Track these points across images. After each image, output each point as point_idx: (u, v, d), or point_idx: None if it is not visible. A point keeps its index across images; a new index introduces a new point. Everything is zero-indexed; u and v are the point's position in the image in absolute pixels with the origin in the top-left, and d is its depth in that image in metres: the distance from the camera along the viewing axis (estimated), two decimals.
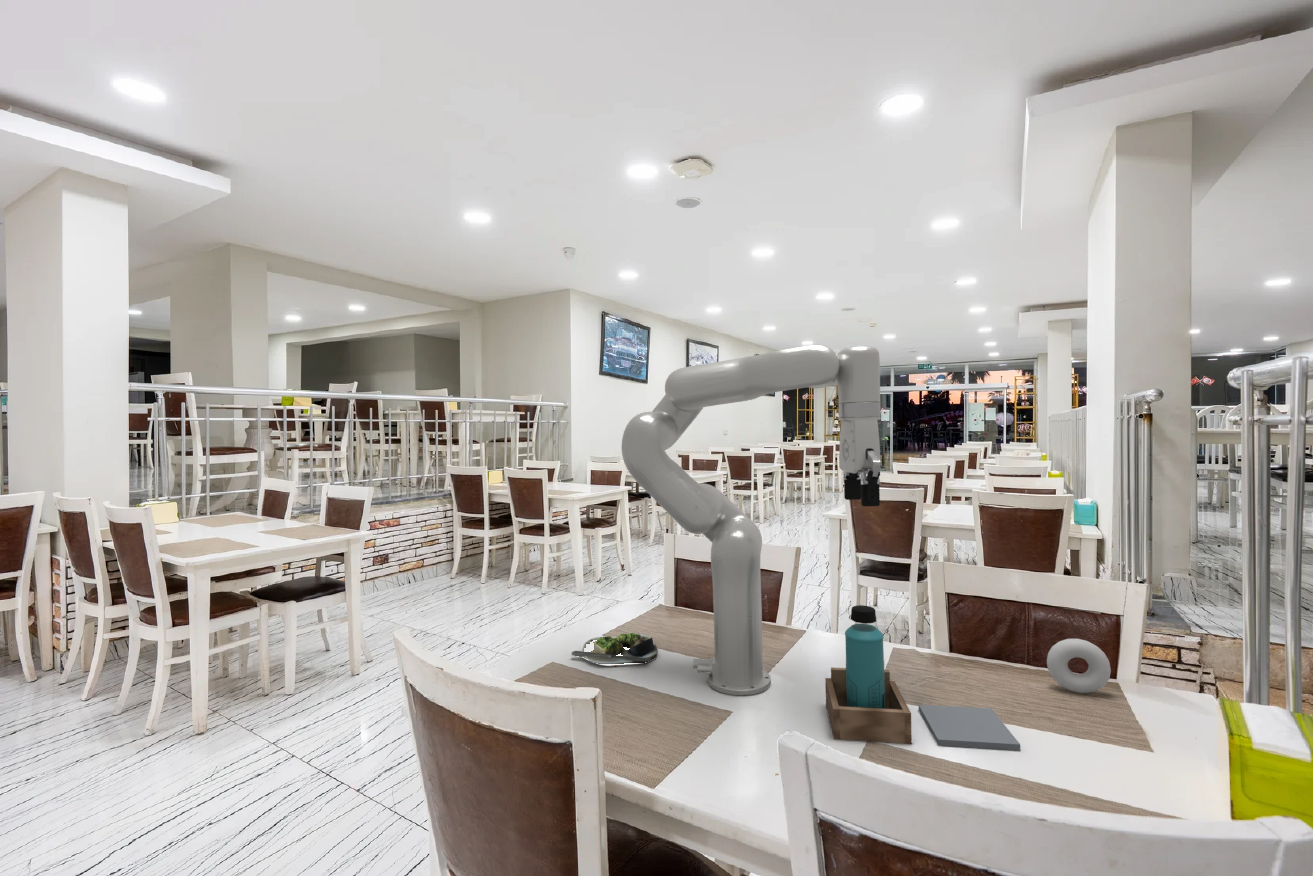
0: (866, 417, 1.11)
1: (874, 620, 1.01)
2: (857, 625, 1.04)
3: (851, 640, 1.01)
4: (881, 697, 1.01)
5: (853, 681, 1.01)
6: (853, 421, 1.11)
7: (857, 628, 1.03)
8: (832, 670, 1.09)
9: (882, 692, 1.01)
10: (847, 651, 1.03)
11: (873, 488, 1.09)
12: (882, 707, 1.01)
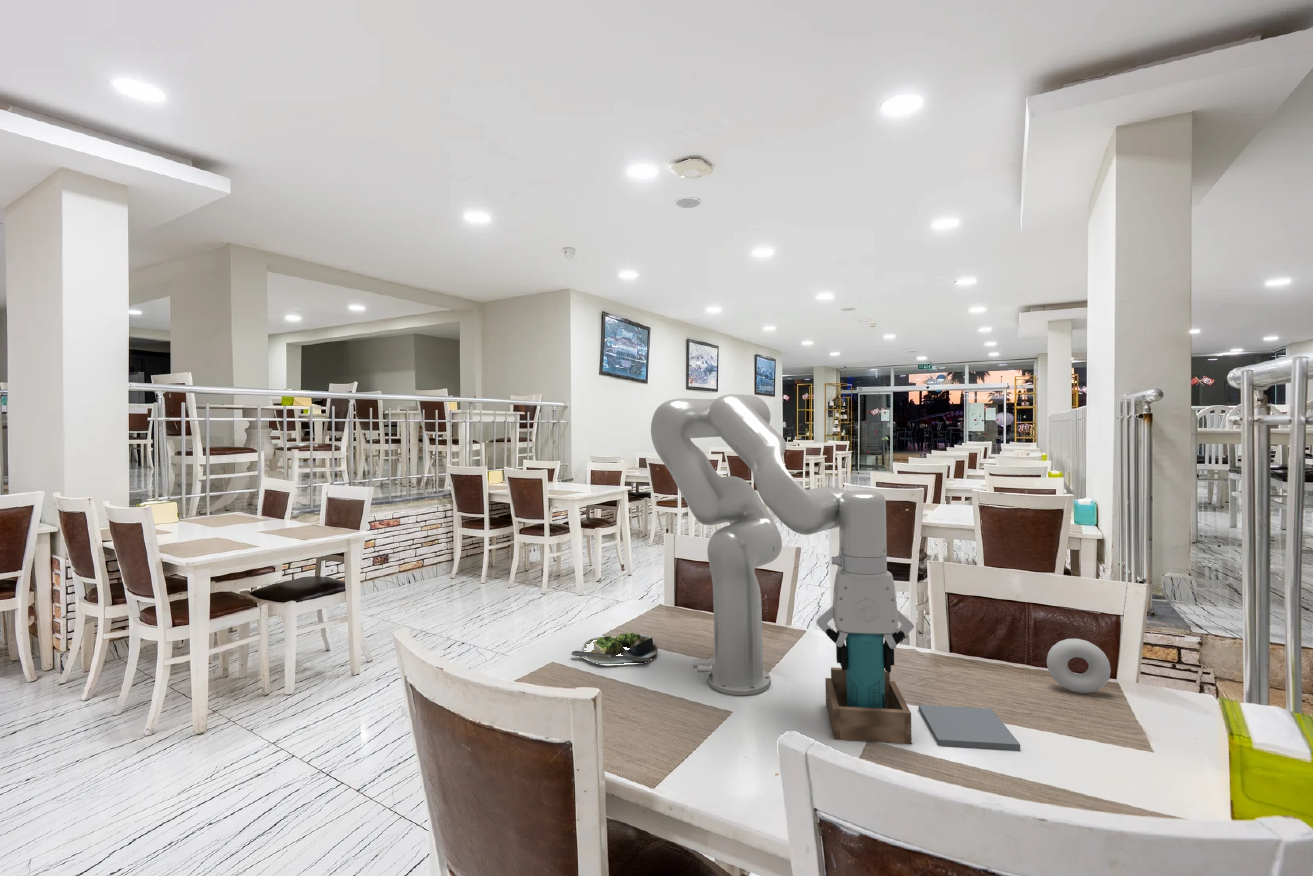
0: None
1: None
2: None
3: (852, 640, 1.01)
4: (881, 697, 1.01)
5: (853, 681, 1.01)
6: (887, 577, 1.00)
7: None
8: (832, 670, 1.09)
9: (882, 692, 1.01)
10: (847, 651, 1.03)
11: None
12: (882, 707, 1.01)
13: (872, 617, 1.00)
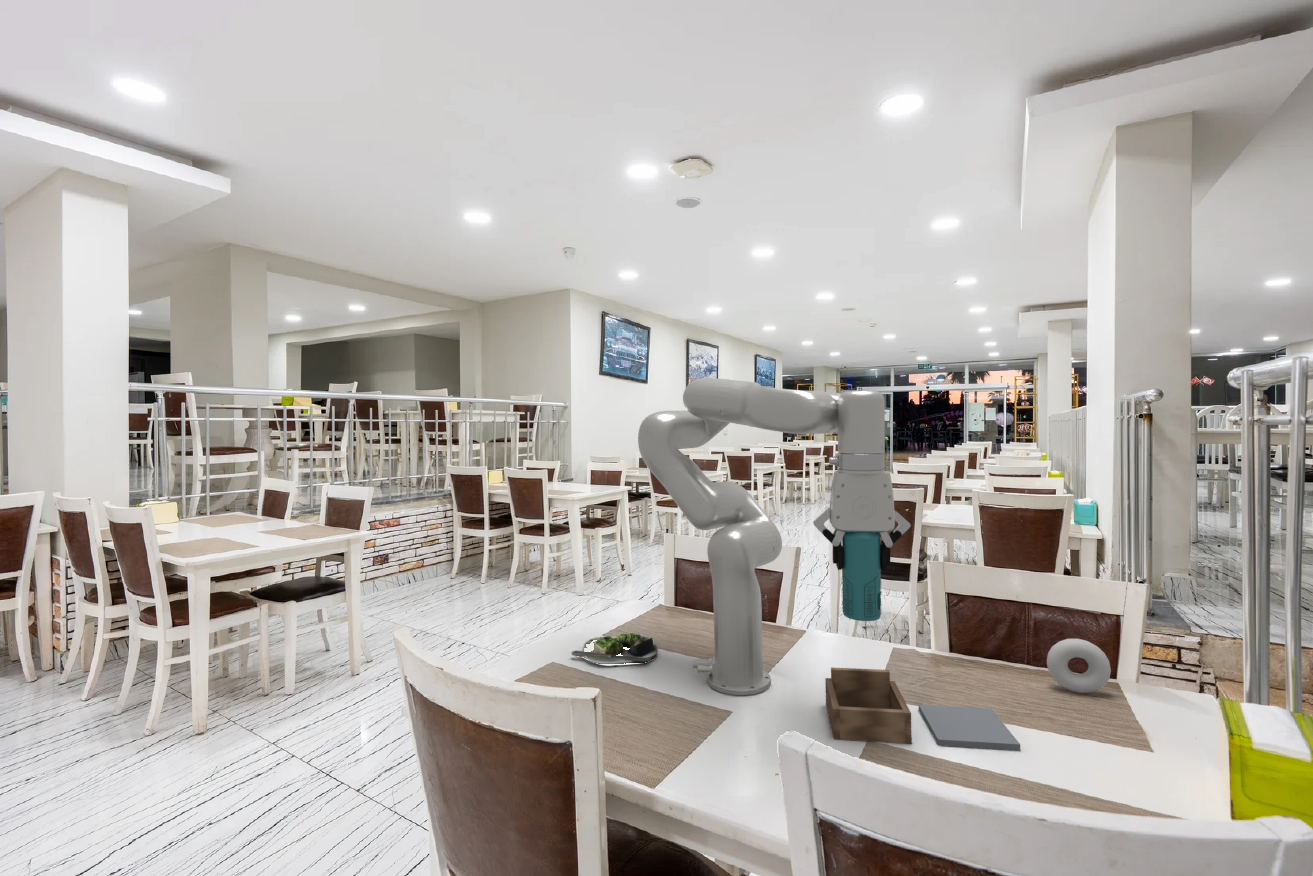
0: None
1: None
2: None
3: (848, 538, 1.01)
4: (877, 595, 1.01)
5: (849, 580, 1.01)
6: (885, 474, 1.00)
7: None
8: (832, 670, 1.09)
9: (878, 590, 1.01)
10: (843, 551, 1.02)
11: None
12: (878, 605, 1.01)
13: (869, 514, 1.00)
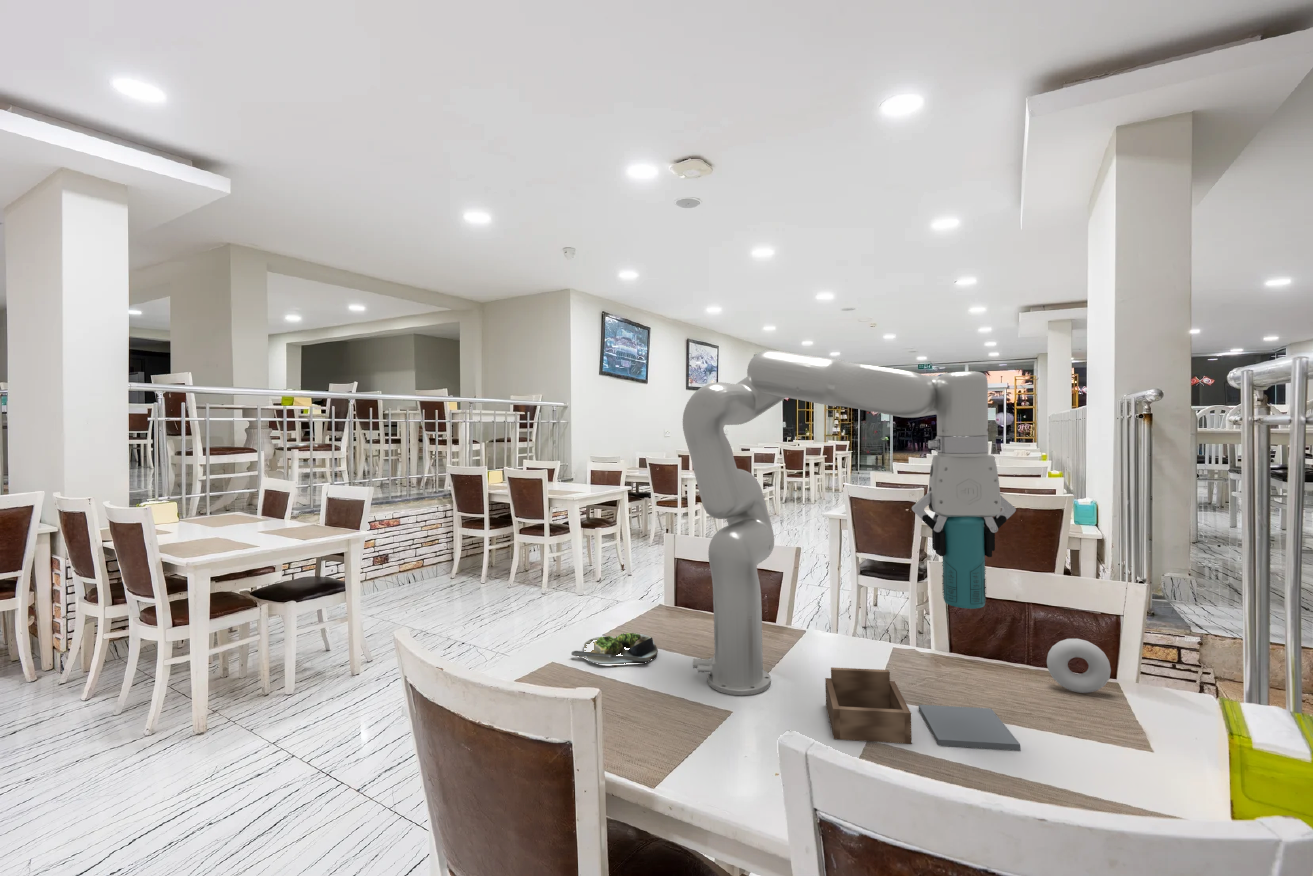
0: None
1: None
2: None
3: (951, 524, 0.98)
4: (982, 582, 0.97)
5: (953, 566, 0.98)
6: (990, 457, 0.97)
7: None
8: (832, 670, 1.09)
9: (983, 577, 0.98)
10: (945, 536, 0.99)
11: None
12: (983, 592, 0.98)
13: (974, 499, 0.97)
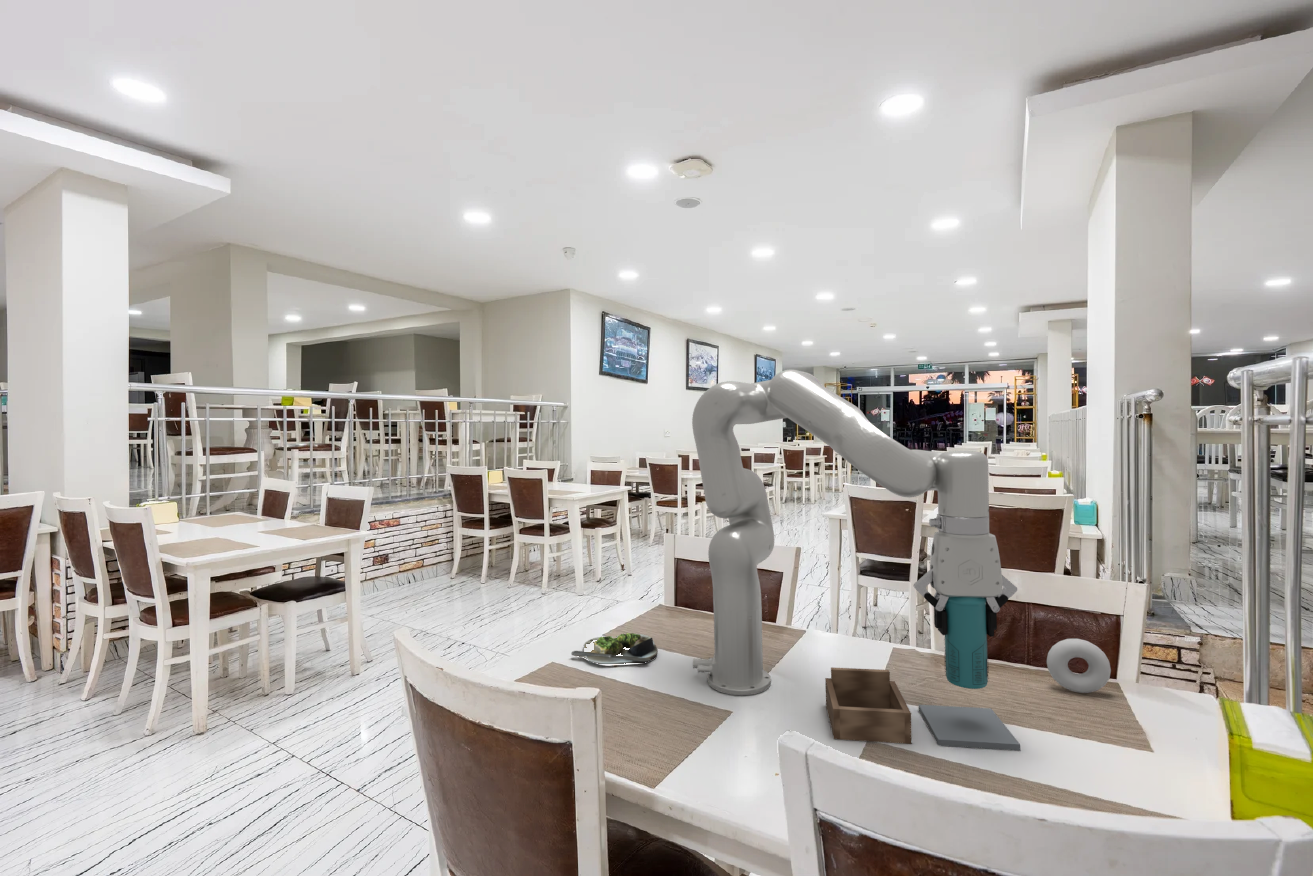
0: None
1: None
2: None
3: (953, 603, 0.98)
4: (984, 662, 0.98)
5: (955, 646, 0.98)
6: (991, 538, 0.97)
7: None
8: (832, 670, 1.09)
9: (985, 657, 0.98)
10: (947, 615, 1.00)
11: None
12: (985, 672, 0.98)
13: (975, 579, 0.97)
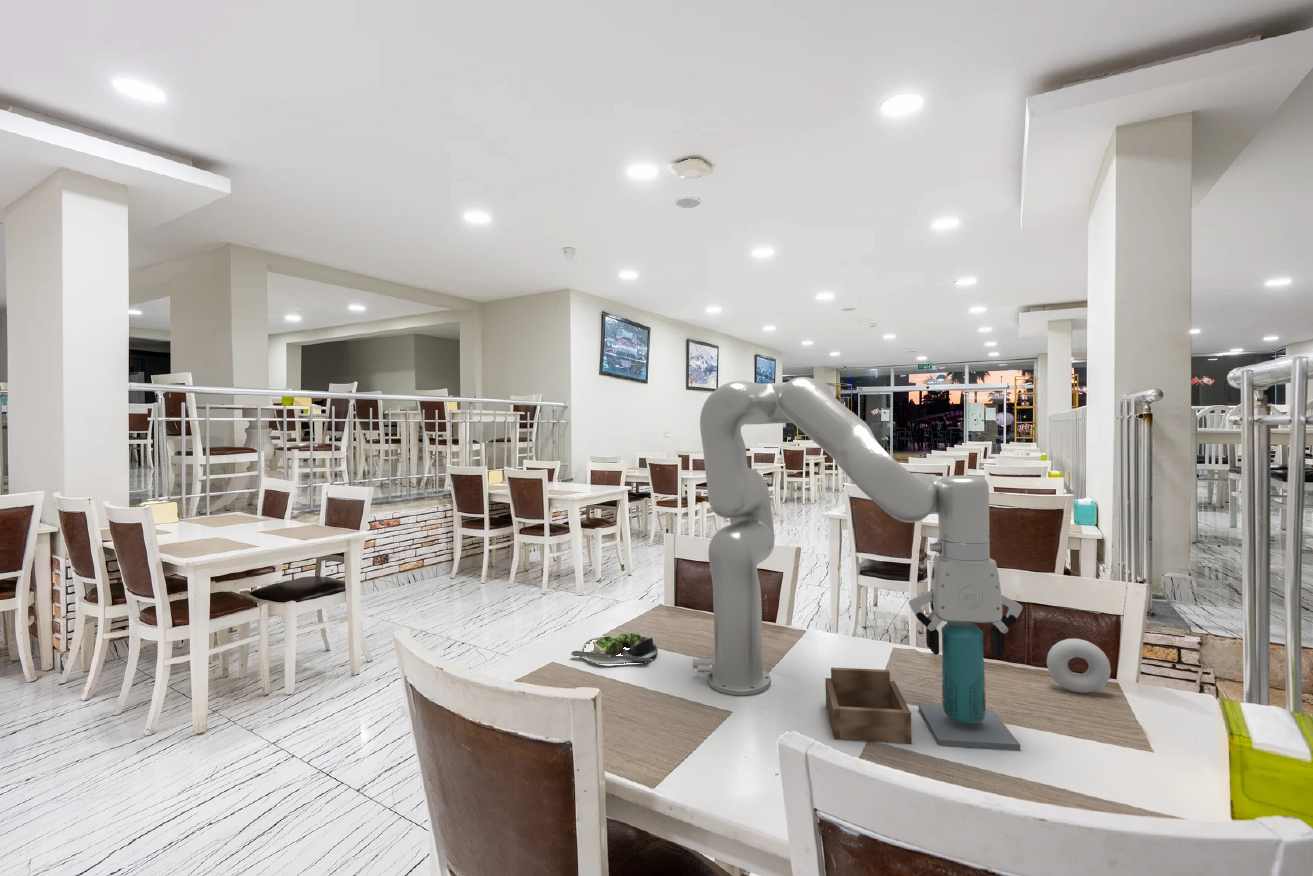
0: None
1: None
2: (954, 622, 1.01)
3: (951, 637, 0.99)
4: (982, 696, 0.98)
5: (953, 680, 0.98)
6: (992, 563, 0.97)
7: (955, 625, 1.00)
8: (832, 670, 1.09)
9: (983, 691, 0.98)
10: (945, 649, 1.00)
11: None
12: (983, 706, 0.98)
13: (976, 605, 0.97)
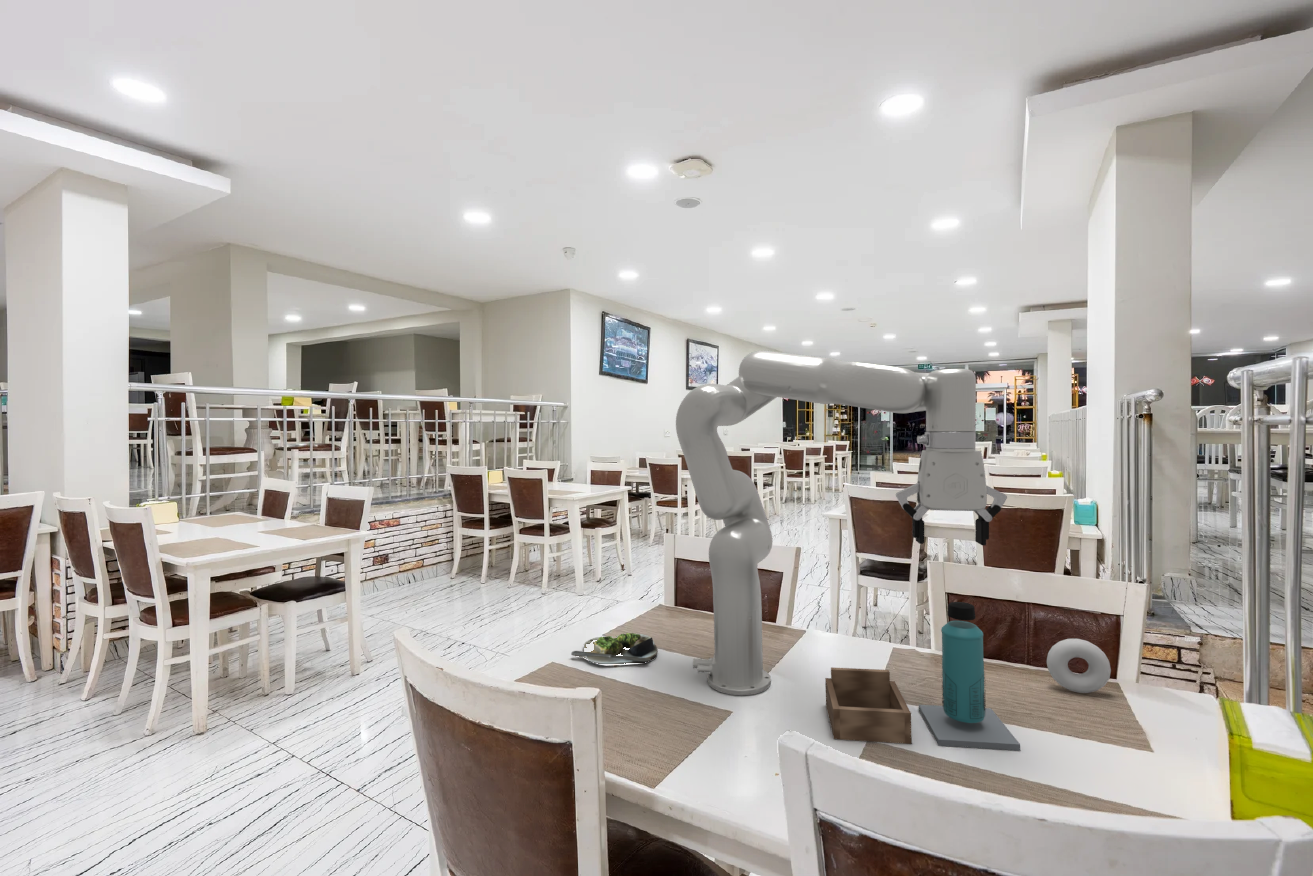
0: None
1: (974, 617, 0.99)
2: (954, 622, 1.01)
3: (951, 637, 0.99)
4: (982, 696, 0.98)
5: (953, 680, 0.98)
6: (977, 452, 0.99)
7: (955, 625, 1.00)
8: (832, 670, 1.09)
9: (983, 691, 0.98)
10: (945, 649, 1.00)
11: None
12: (983, 706, 0.98)
13: (960, 493, 0.99)
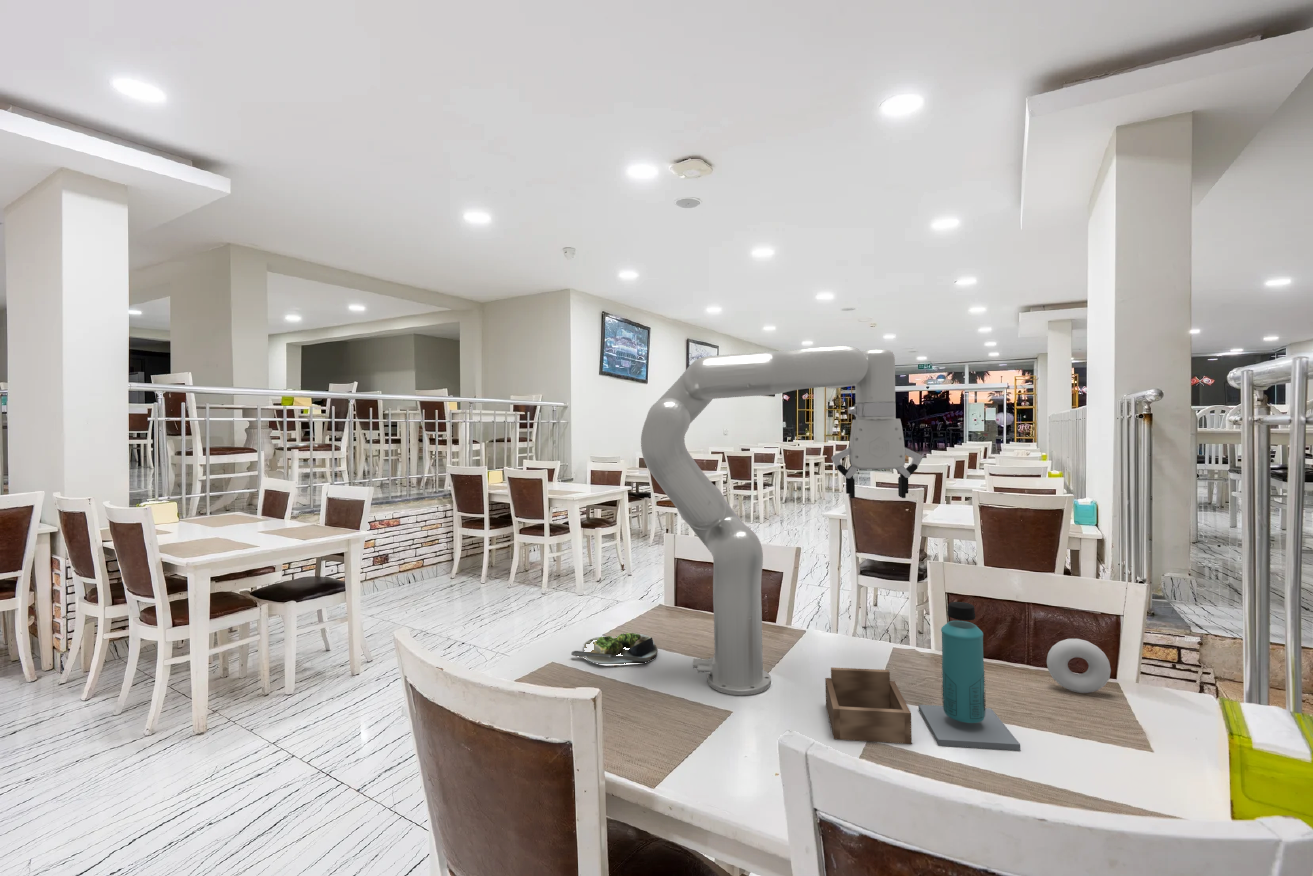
0: None
1: (974, 617, 0.99)
2: (954, 622, 1.01)
3: (951, 637, 0.99)
4: (982, 696, 0.98)
5: (953, 680, 0.99)
6: (896, 419, 1.18)
7: (955, 625, 1.00)
8: (832, 670, 1.09)
9: (982, 691, 0.98)
10: (945, 649, 1.00)
11: None
12: (983, 706, 0.98)
13: (883, 454, 1.18)
